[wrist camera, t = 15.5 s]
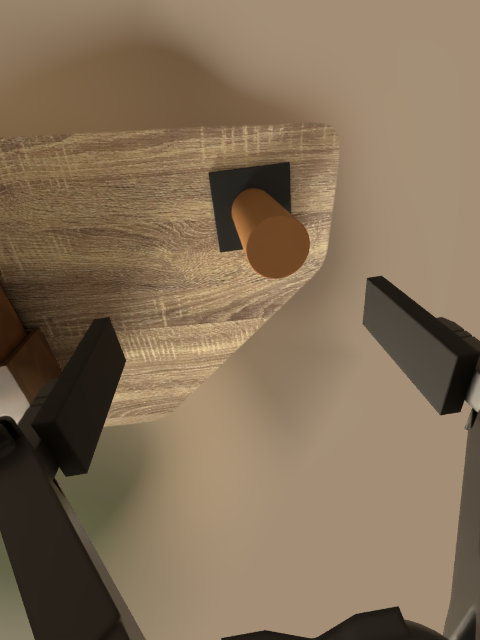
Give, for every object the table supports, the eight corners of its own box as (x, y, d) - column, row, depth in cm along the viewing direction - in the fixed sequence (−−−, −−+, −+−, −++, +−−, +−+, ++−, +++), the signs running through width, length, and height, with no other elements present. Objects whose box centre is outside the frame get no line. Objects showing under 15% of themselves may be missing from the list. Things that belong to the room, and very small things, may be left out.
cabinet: (-54, 340, 46) (-106, 382, 38) (39, 327, 47) (6, 365, 39) (-4, 410, 54) (-39, 457, 46) (76, 398, 54) (54, 442, 46)
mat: (208, 172, 39) (208, 173, 38) (288, 162, 39) (289, 162, 38) (220, 251, 44) (220, 252, 43) (290, 241, 44) (291, 242, 43)
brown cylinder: (228, 191, 39) (242, 220, 26) (273, 185, 39) (310, 210, 26) (234, 235, 42) (249, 283, 28) (275, 229, 42) (309, 274, 29)
